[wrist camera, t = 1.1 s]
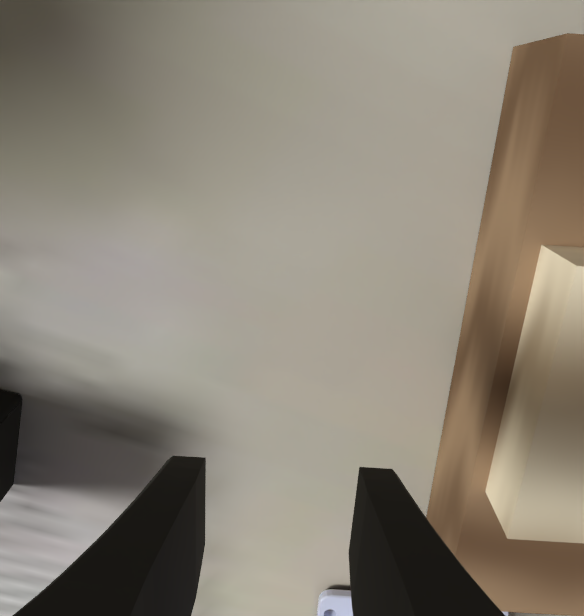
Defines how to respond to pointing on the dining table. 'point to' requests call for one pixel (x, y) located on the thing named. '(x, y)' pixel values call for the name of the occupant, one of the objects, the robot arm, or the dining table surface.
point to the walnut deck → (513, 325)
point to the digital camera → (8, 438)
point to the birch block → (545, 410)
